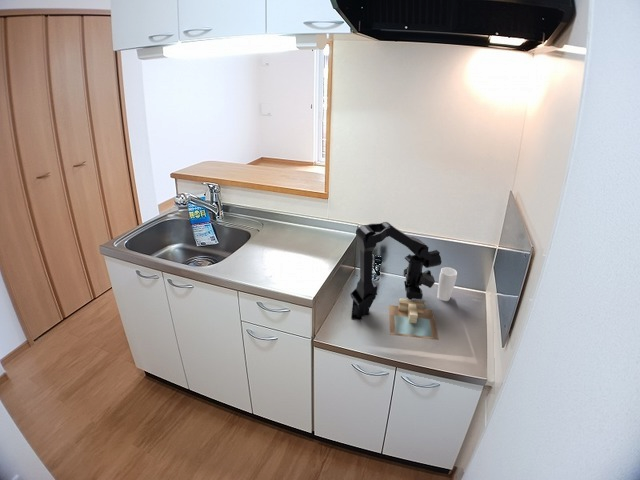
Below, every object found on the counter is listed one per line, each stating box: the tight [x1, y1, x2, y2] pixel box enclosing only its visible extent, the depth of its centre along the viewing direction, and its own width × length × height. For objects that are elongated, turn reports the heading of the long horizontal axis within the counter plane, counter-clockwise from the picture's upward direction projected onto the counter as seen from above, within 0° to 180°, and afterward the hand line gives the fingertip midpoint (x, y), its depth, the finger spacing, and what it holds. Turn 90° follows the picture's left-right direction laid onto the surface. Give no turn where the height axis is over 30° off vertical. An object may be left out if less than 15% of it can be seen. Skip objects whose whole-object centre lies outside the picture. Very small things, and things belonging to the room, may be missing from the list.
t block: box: [397, 297, 426, 323], centre depth 146 cm, size 10×10×4 cm
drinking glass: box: [436, 266, 458, 302], centre depth 155 cm, size 7×7×15 cm
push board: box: [388, 304, 440, 341], centre depth 143 cm, size 18×18×2 cm
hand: (409, 299), depth 154 cm, fingers closed
